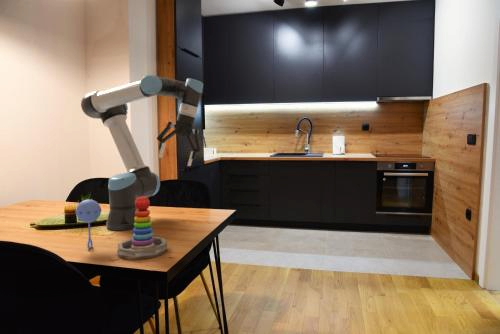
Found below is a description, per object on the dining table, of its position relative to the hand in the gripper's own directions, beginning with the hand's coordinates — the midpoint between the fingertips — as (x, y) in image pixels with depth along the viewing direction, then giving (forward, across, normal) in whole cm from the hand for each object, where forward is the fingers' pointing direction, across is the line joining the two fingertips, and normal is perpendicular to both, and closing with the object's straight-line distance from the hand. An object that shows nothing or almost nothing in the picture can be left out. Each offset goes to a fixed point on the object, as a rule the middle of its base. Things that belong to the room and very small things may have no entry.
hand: (174, 161), depth 163 cm
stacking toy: (+29, +8, -34) cm, 45 cm away
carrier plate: (+29, +8, -34) cm, 46 cm away
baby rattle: (+35, -12, -32) cm, 49 cm away
